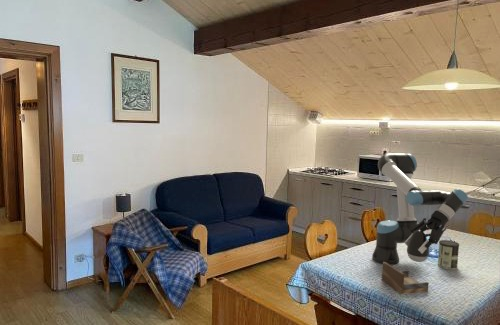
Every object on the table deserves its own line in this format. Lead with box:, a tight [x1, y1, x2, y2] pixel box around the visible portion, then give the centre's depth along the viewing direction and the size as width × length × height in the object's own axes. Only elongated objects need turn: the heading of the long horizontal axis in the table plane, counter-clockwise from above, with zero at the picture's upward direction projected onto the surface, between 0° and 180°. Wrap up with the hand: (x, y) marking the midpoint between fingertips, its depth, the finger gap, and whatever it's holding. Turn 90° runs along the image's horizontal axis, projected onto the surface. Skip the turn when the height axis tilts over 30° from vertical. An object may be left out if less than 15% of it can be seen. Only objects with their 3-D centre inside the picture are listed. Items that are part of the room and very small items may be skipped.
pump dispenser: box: [406, 230, 431, 263], centre depth 187 cm, size 10×10×15 cm
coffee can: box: [437, 239, 460, 271], centre depth 219 cm, size 10×10×14 cm
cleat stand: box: [381, 262, 429, 295], centre depth 191 cm, size 15×16×10 cm
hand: (412, 248), depth 187 cm, fingers closed on pump dispenser, 9 cm apart
